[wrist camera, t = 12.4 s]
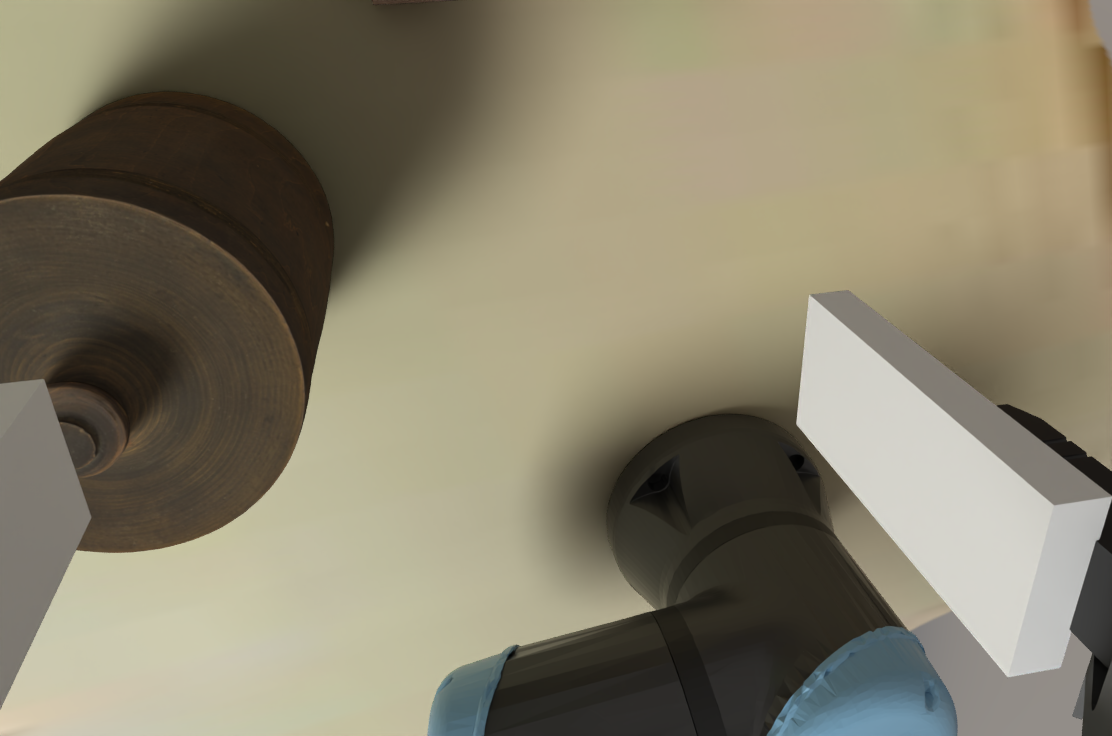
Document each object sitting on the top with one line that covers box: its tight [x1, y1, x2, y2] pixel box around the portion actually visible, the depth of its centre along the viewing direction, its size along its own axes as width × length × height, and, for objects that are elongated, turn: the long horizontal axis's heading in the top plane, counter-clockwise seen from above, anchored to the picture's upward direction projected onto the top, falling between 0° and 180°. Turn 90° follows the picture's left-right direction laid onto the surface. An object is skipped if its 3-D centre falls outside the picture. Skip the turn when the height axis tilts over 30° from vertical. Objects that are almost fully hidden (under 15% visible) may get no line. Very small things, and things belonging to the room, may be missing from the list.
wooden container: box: [0, 92, 334, 553], centre depth 38 cm, size 15×15×22 cm
